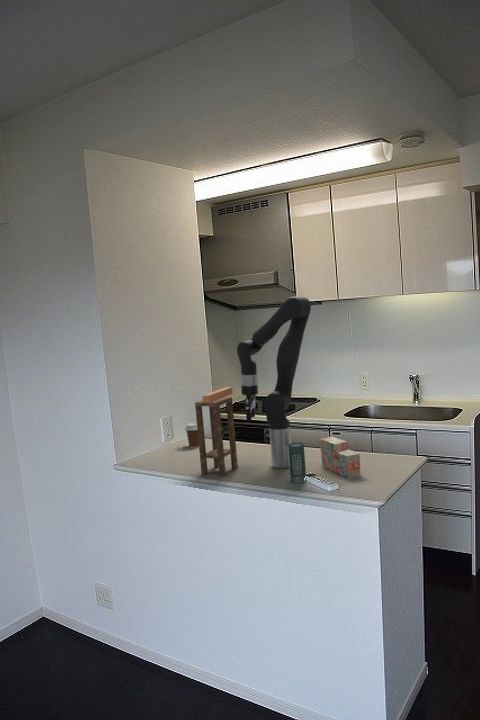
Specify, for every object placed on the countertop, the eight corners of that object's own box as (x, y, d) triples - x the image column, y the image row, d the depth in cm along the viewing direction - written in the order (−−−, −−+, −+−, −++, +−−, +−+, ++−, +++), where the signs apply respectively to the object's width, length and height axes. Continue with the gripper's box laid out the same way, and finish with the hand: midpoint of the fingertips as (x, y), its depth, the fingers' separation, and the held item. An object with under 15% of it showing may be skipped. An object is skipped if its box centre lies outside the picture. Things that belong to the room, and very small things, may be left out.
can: (306, 478, 230) (303, 442, 229) (306, 483, 224) (303, 446, 223) (291, 478, 231) (288, 442, 230) (290, 483, 225) (288, 446, 224)
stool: (237, 467, 253) (231, 397, 250) (223, 476, 242) (217, 402, 238) (216, 466, 258) (210, 396, 255) (201, 474, 247) (195, 402, 243)
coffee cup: (204, 447, 293) (202, 424, 292) (187, 449, 292) (185, 426, 291) (203, 443, 302) (201, 421, 301) (186, 445, 301) (184, 423, 300)
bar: (226, 393, 260) (226, 387, 260) (232, 393, 259) (232, 387, 258) (202, 402, 242) (202, 395, 241) (208, 402, 240) (208, 395, 240)
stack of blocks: (361, 476, 228) (359, 446, 227) (347, 478, 226) (345, 448, 225) (334, 463, 248) (332, 435, 247) (321, 465, 246) (319, 438, 245)
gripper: (254, 386, 250) (256, 422, 252) (260, 381, 264) (261, 415, 265) (238, 386, 251) (239, 422, 253) (244, 381, 265) (245, 415, 267)
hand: (250, 419), depth 259 cm, fingers open, 8 cm apart
